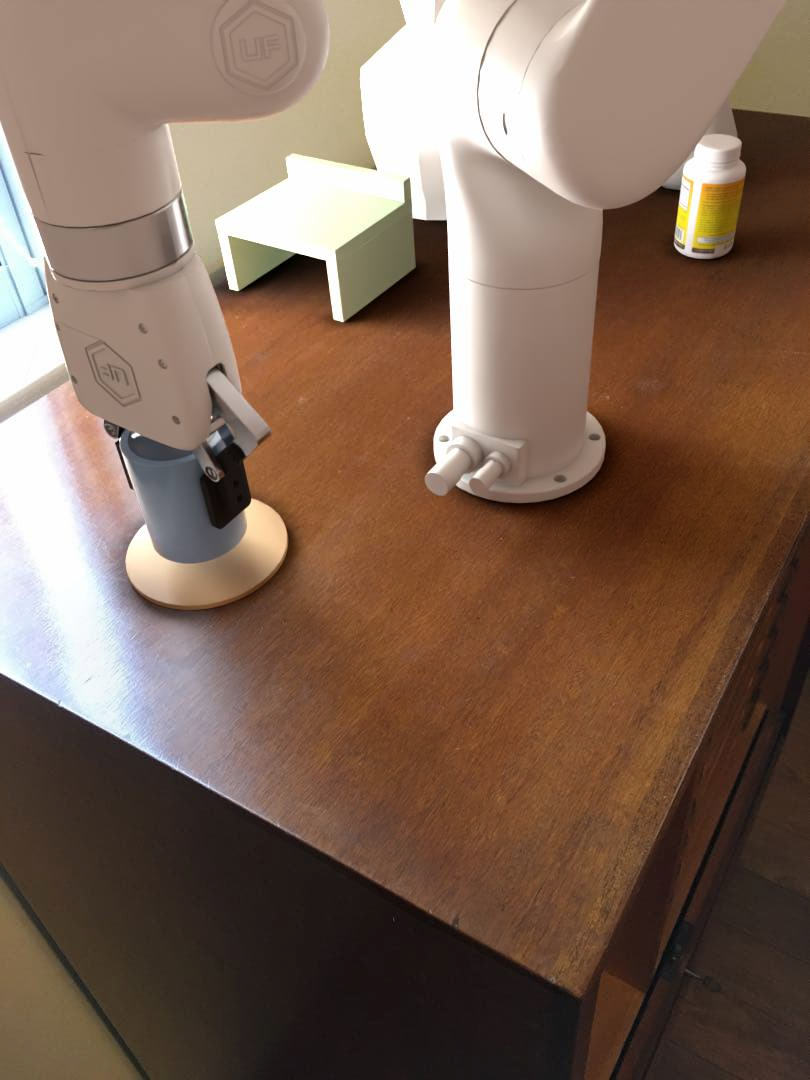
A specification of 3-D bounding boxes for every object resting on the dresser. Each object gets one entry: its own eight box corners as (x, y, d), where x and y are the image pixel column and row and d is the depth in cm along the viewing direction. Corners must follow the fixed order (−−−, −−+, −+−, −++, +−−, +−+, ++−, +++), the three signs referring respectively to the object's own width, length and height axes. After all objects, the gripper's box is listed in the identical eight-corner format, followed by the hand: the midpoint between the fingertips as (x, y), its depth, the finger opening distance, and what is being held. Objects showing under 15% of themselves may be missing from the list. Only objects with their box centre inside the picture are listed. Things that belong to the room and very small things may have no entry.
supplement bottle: (743, 247, 91) (764, 140, 84) (707, 267, 88) (726, 158, 81) (696, 230, 94) (713, 126, 87) (660, 249, 92) (674, 142, 85)
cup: (201, 577, 59) (173, 478, 53) (131, 542, 62) (96, 445, 56) (267, 519, 63) (246, 421, 57) (197, 488, 65) (171, 392, 60)
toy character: (616, 172, 106) (627, 57, 98) (696, 154, 108) (713, 41, 100) (666, 205, 99) (682, 85, 91) (750, 185, 101) (773, 66, 93)
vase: (510, 182, 106) (513, -79, 89) (487, 238, 96) (486, -44, 79) (389, 178, 109) (370, -75, 92) (355, 231, 99) (326, -41, 82)
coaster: (213, 634, 58) (211, 630, 58) (92, 571, 63) (90, 567, 63) (320, 530, 64) (320, 526, 64) (204, 481, 69) (202, 476, 69)
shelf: (343, 322, 85) (332, 228, 79) (229, 288, 91) (210, 198, 85) (416, 267, 92) (410, 176, 86) (305, 239, 98) (292, 153, 92)
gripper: (-48, 227, 50) (57, 486, 62) (188, 302, 42) (254, 581, 54) (61, 177, 54) (138, 428, 66) (292, 236, 47) (332, 508, 59)
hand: (190, 495), depth 60 cm, fingers closed on cup, 6 cm apart
